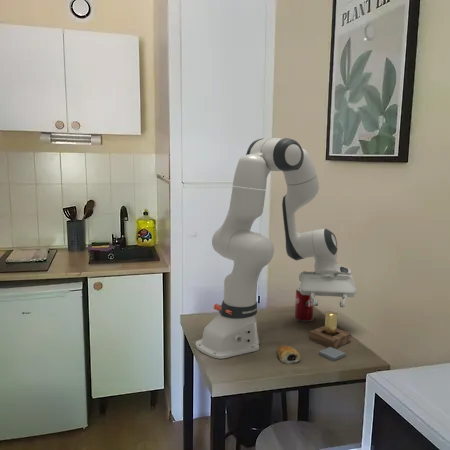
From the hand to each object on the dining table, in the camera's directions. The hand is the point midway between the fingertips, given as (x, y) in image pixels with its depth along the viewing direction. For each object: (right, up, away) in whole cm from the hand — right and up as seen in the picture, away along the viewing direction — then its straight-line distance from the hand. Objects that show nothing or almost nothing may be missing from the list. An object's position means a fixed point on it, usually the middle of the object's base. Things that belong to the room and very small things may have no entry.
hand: (329, 306), depth 159 cm
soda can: (-6, -8, +16) cm, 19 cm away
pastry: (-18, -14, -18) cm, 29 cm away
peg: (-1, -11, -4) cm, 12 cm away
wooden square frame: (-1, -11, -4) cm, 12 cm away
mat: (-3, -13, -15) cm, 20 cm away
